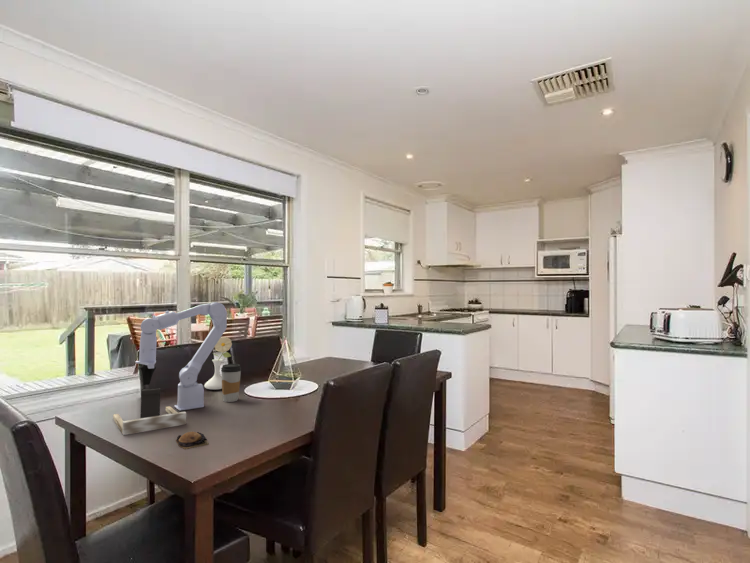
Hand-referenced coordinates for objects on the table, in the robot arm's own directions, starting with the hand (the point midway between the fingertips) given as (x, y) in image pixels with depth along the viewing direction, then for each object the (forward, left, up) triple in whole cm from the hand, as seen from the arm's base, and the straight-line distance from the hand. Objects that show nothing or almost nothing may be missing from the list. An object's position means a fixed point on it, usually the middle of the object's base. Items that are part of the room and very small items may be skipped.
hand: (146, 384), depth 165 cm
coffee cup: (-32, +2, -11) cm, 34 cm away
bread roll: (-5, +44, -11) cm, 46 cm away
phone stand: (+1, +16, -11) cm, 19 cm away
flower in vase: (-35, -22, -11) cm, 43 cm away
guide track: (+2, +13, -10) cm, 17 cm away
